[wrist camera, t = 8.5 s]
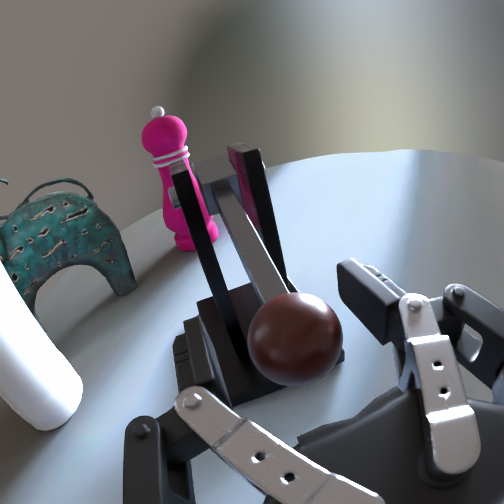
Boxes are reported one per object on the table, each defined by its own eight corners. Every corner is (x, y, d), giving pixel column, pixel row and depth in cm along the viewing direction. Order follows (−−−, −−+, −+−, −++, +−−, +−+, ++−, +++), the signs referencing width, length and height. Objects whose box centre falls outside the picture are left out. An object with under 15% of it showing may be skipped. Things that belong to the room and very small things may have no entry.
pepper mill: (193, 258, 39) (143, 108, 29) (166, 248, 43) (121, 119, 34) (232, 232, 43) (193, 94, 33) (201, 226, 48) (164, 105, 38)
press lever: (350, 373, 11) (369, 339, 9) (270, 409, 11) (264, 387, 8) (241, 186, 20) (233, 141, 18) (192, 202, 20) (178, 158, 17)
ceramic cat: (22, 368, 25) (-67, 220, 15) (21, 341, 30) (-51, 211, 20) (148, 288, 35) (85, 129, 25) (132, 272, 39) (78, 136, 30)
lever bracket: (345, 361, 20) (326, 147, 13) (226, 409, 18) (127, 209, 11) (284, 279, 30) (251, 132, 23) (200, 310, 29) (144, 165, 22)
